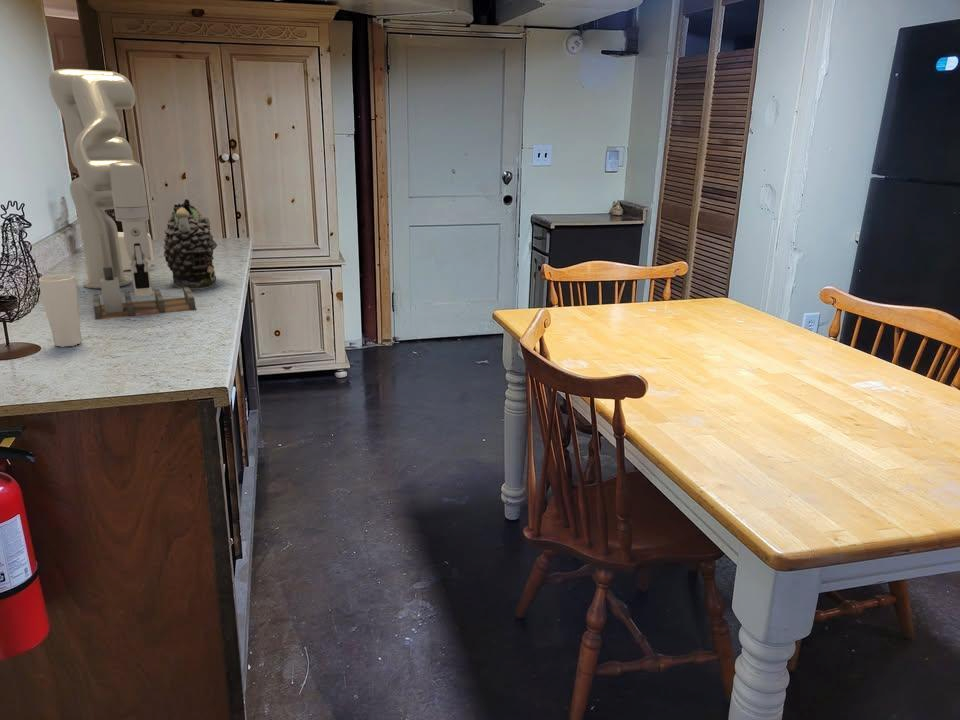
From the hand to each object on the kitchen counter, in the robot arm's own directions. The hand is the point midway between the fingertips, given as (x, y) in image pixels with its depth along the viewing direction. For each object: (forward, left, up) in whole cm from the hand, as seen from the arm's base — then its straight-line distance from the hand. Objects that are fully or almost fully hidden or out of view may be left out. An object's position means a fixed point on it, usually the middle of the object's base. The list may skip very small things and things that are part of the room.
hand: (142, 285), depth 179 cm
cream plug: (0, 0, -2) cm, 2 cm away
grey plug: (0, -7, -6) cm, 9 cm away
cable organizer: (-63, -1, -7) cm, 64 cm away
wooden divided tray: (0, 0, -7) cm, 7 cm away
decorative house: (-29, +15, -7) cm, 34 cm away
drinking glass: (+23, -17, -7) cm, 29 cm away
